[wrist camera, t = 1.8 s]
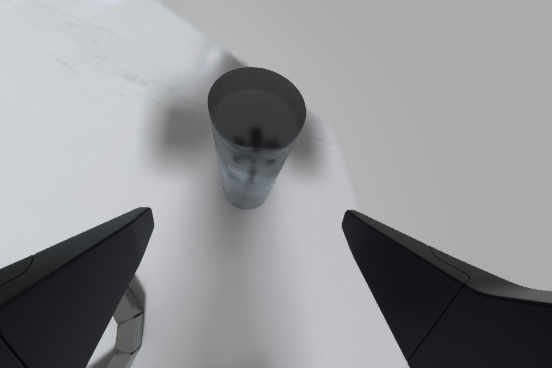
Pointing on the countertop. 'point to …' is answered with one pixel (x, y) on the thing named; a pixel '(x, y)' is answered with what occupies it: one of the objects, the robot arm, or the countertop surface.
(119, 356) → the ring
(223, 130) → the dark grey metallic cylinder
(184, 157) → the countertop surface
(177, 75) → the countertop surface
